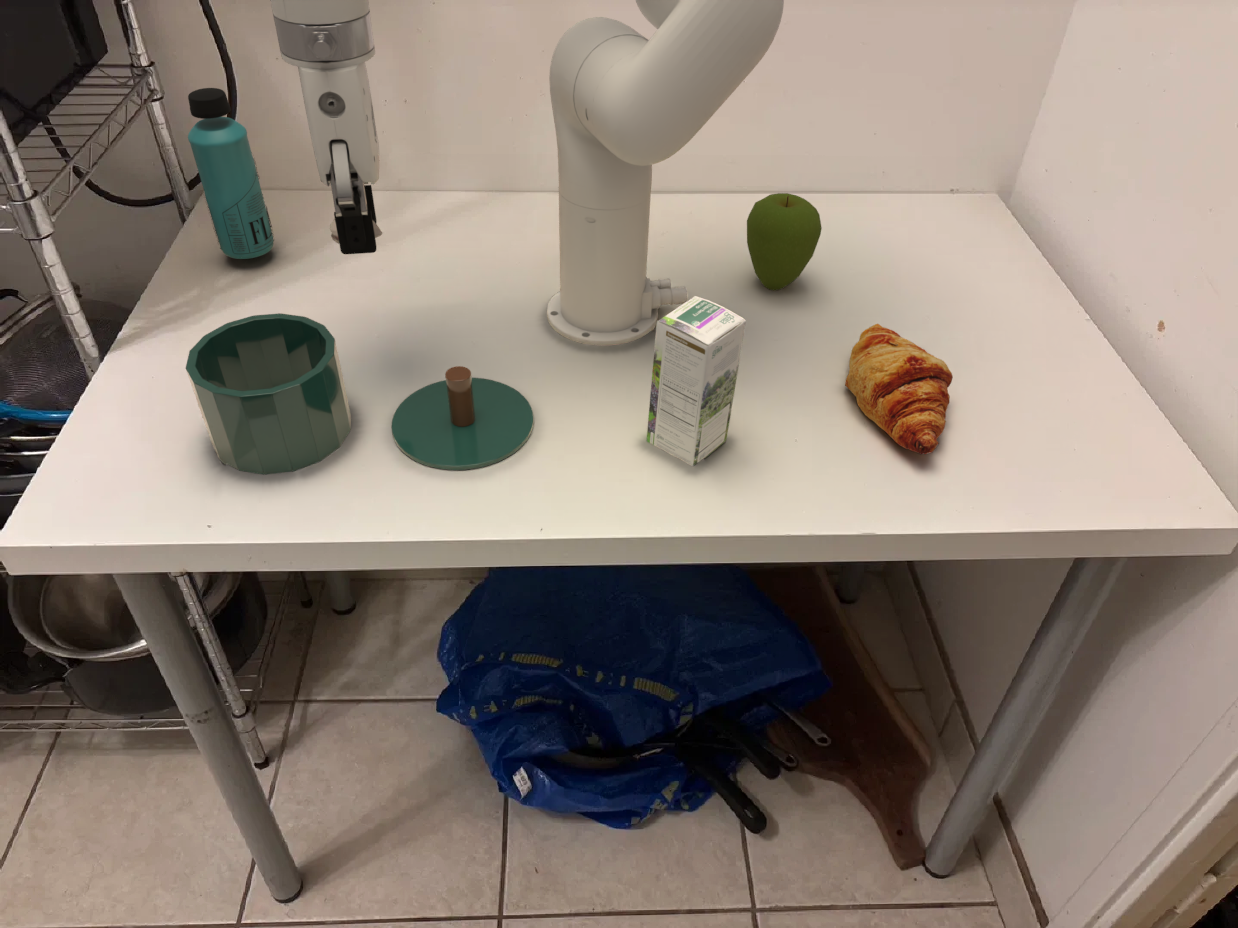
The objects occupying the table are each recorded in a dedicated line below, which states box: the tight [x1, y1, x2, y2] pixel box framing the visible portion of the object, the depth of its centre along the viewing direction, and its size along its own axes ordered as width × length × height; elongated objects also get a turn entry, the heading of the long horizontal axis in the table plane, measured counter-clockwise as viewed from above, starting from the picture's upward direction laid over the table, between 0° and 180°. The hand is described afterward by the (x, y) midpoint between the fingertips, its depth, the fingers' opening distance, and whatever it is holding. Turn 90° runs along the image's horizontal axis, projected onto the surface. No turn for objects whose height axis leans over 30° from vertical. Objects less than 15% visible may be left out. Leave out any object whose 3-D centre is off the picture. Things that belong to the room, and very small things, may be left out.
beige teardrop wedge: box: [329, 217, 383, 244], centre depth 87 cm, size 4×5×2 cm
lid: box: [391, 365, 535, 471], centre depth 88 cm, size 14×14×7 cm
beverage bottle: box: [187, 87, 276, 260], centre depth 107 cm, size 6×7×20 cm
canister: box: [185, 312, 352, 476], centre depth 86 cm, size 13×13×10 cm
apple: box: [746, 192, 823, 291], centre depth 109 cm, size 9×8×12 cm
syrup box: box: [645, 295, 747, 467], centre depth 85 cm, size 6×6×14 cm
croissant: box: [844, 323, 953, 455], centre depth 94 cm, size 21×10×8 cm, turn 3°
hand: (359, 236), depth 88 cm, fingers closed on beige teardrop wedge, 4 cm apart
